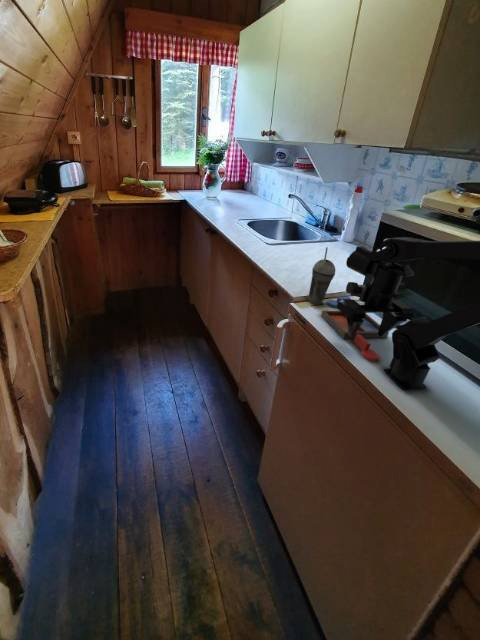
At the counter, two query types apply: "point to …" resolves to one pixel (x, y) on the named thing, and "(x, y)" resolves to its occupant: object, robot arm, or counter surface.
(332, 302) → the blue spoon
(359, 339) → the red spoon
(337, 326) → the tray
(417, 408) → the counter surface
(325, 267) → the beverage cup
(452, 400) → the counter surface
